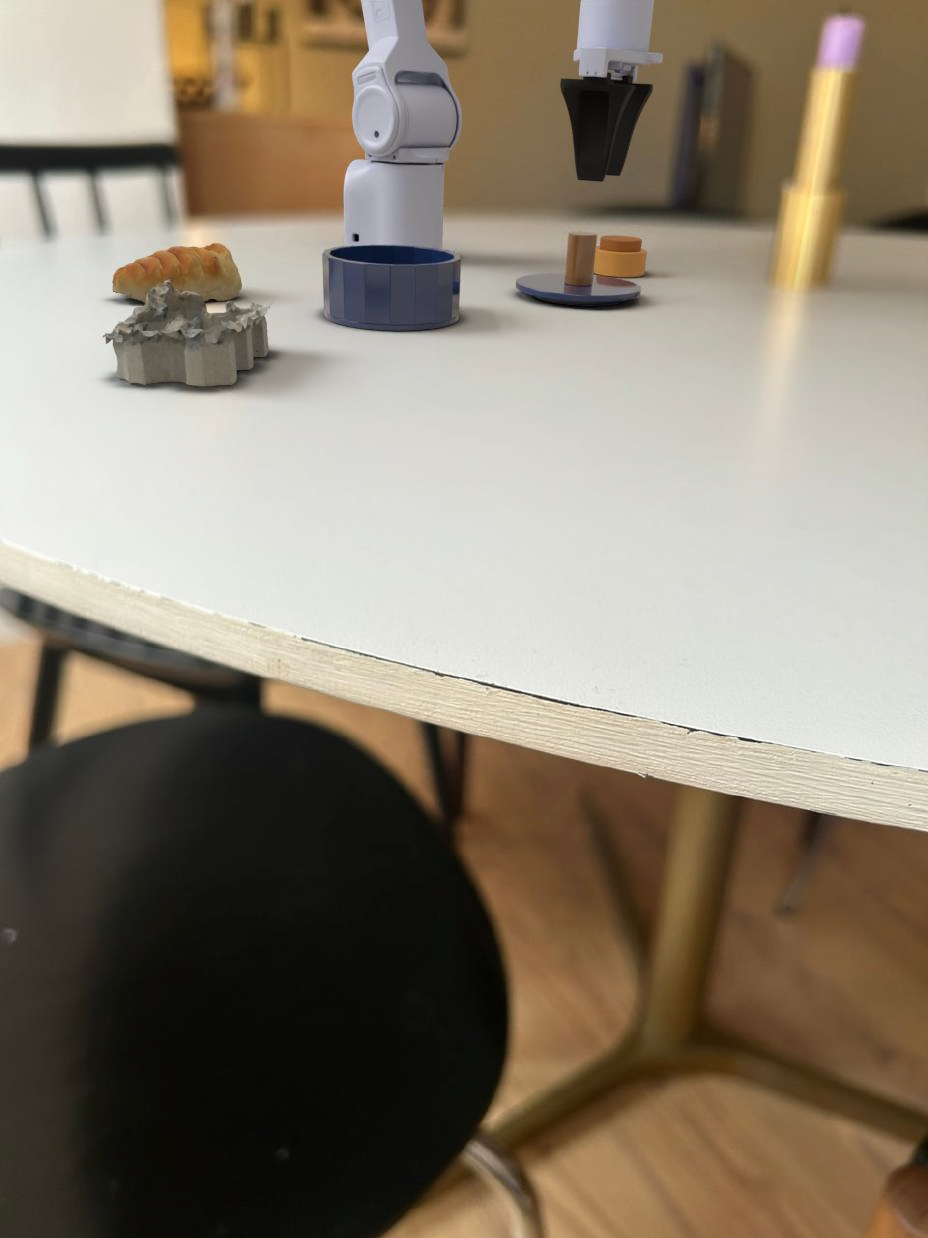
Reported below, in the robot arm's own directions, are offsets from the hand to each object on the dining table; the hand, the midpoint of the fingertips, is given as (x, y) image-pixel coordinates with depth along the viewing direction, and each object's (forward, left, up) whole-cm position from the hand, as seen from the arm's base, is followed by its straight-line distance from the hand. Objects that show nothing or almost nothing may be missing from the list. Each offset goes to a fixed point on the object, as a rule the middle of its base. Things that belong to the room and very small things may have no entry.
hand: (599, 177), depth 81 cm
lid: (0, -4, -8) cm, 10 cm away
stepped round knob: (+1, +11, -9) cm, 14 cm away
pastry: (-28, -20, -9) cm, 36 cm away
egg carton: (-16, -38, -9) cm, 43 cm away
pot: (-11, -19, -9) cm, 24 cm away
